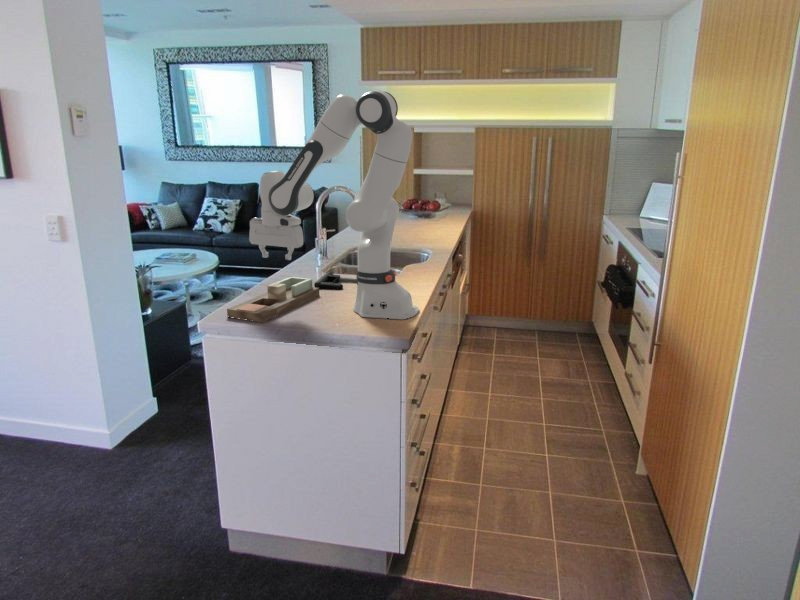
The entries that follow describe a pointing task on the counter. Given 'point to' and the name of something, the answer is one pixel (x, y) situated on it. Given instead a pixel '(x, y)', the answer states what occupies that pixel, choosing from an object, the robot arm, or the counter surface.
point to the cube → (276, 291)
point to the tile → (251, 307)
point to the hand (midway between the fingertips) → (276, 258)
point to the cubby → (297, 284)
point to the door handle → (334, 279)
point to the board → (272, 305)
